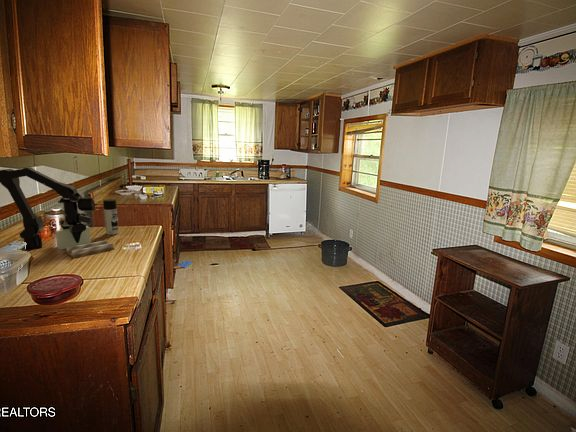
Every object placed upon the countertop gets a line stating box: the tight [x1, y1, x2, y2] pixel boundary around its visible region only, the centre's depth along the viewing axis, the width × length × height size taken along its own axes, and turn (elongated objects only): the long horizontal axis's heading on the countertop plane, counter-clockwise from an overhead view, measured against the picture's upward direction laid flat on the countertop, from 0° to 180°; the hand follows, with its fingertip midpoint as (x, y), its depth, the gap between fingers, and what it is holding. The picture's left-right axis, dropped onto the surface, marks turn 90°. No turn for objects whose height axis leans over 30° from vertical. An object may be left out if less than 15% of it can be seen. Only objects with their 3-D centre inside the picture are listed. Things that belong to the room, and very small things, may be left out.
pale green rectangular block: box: [55, 225, 92, 250], centre depth 161 cm, size 14×4×9 cm, turn 142°
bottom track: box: [65, 239, 115, 259], centre depth 154 cm, size 18×9×3 cm, turn 142°
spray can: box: [102, 198, 120, 236], centre depth 184 cm, size 7×7×20 cm
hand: (74, 240), depth 161 cm, fingers open, 9 cm apart
